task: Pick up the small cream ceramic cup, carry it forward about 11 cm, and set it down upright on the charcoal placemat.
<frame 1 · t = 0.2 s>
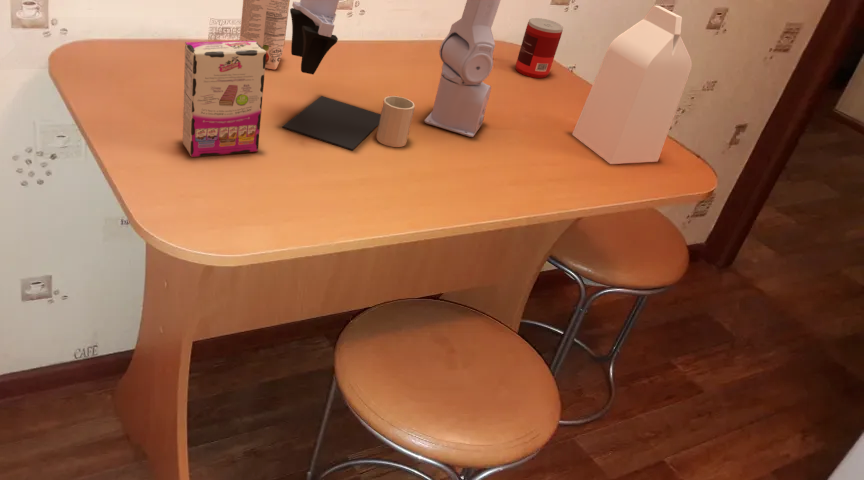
hand: (302, 63, 130), 11 cm above the table, tool pointing down, fingers open, 7 cm apart
placemat: (336, 122, 139), on the table
candy bar box: (219, 149, 124), on the table
canned food: (531, 72, 179), on the table
juice carton: (260, 62, 157), on the table
milk: (613, 148, 151), on the table
cream cup: (391, 140, 137), on the table
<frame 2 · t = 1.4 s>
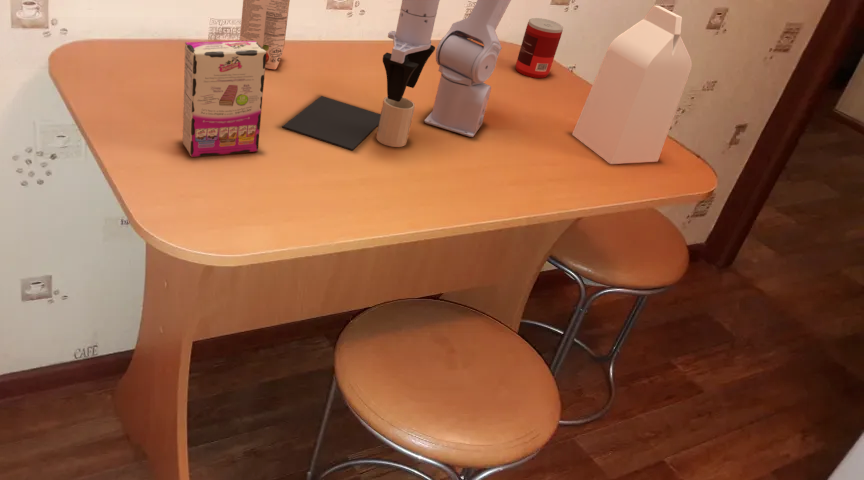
hand: (401, 92, 132), 9 cm above the table, tool pointing down, fingers open, 7 cm apart
nothing on the table moved.
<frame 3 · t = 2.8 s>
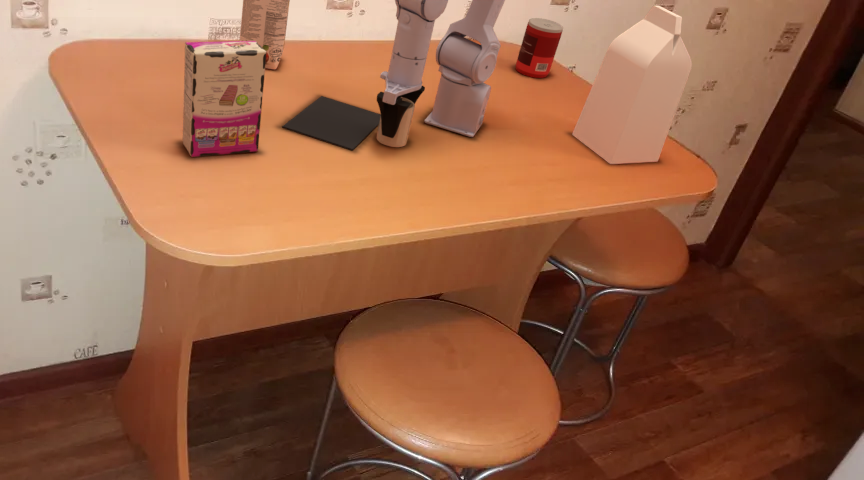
hand: (393, 130, 136), 2 cm above the table, tool pointing down, fingers closed on cream cup, 5 cm apart
cream cup: (391, 140, 137), on the table, touching gripper
everything else where it was.
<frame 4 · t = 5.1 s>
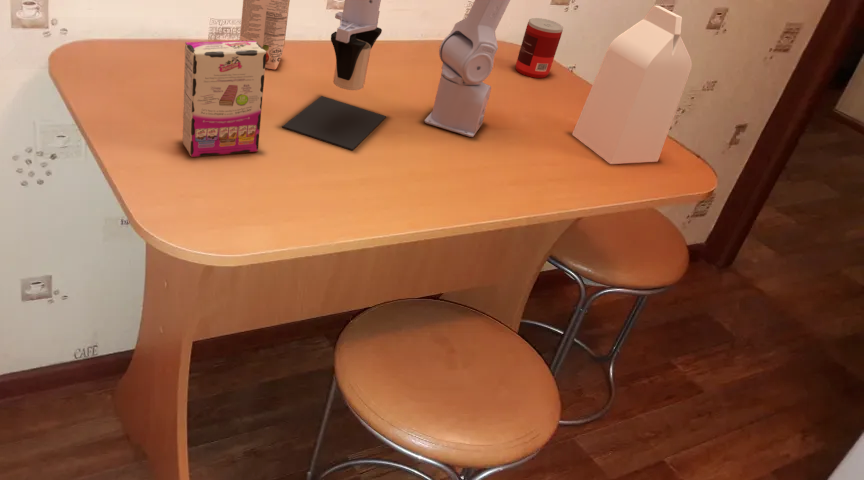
hand: (350, 73, 134), 9 cm above the table, tool pointing down, fingers closed on cream cup, 5 cm apart
cream cup: (348, 84, 135), point 7 cm above the table, touching gripper
everything else where it was.
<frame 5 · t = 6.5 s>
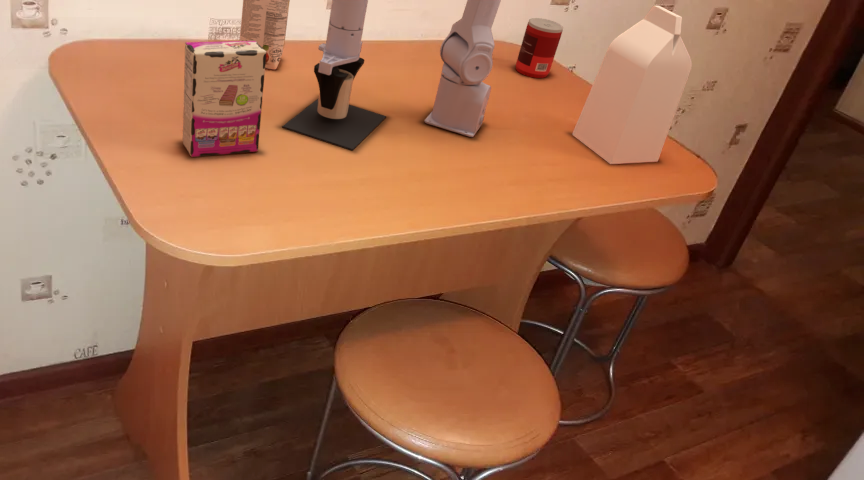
hand: (333, 102, 138), 3 cm above the table, tool pointing down, fingers closed on cream cup, 5 cm apart
cream cup: (332, 112, 139), point 2 cm above the table, touching gripper
everything else where it was.
when the fingers open (2 cm above the table, at t = 7.5 s): cream cup stays where it is, resting on placemat.
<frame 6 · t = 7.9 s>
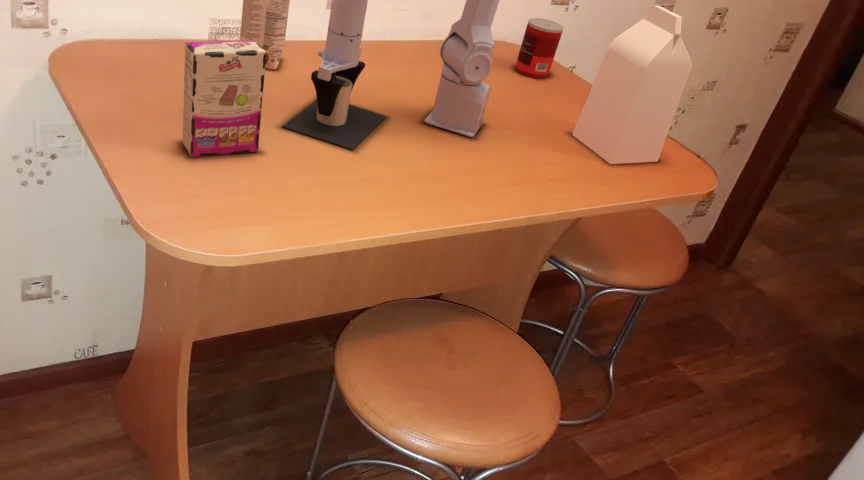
hand: (333, 107, 138), 2 cm above the table, tool pointing down, fingers open, 7 cm apart
cream cup: (330, 119, 139), resting on placemat
everything else where it was.
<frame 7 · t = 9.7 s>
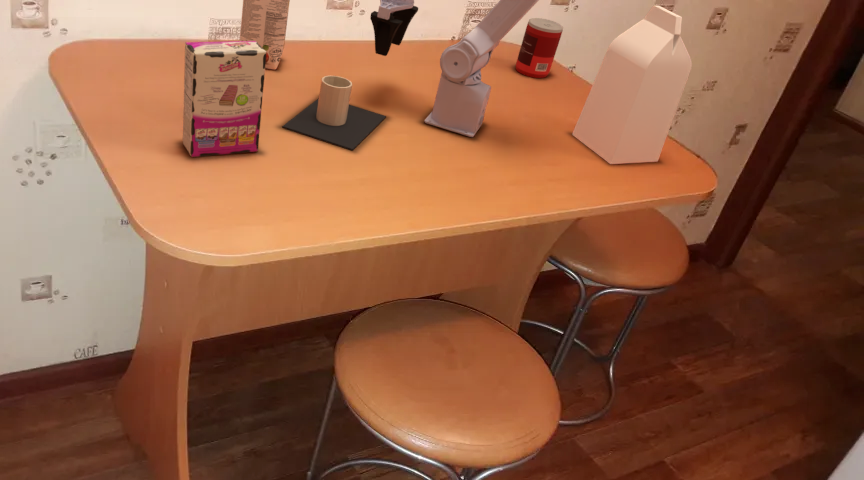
hand: (387, 48, 147), 9 cm above the table, tool pointing down, fingers open, 7 cm apart
nothing on the table moved.
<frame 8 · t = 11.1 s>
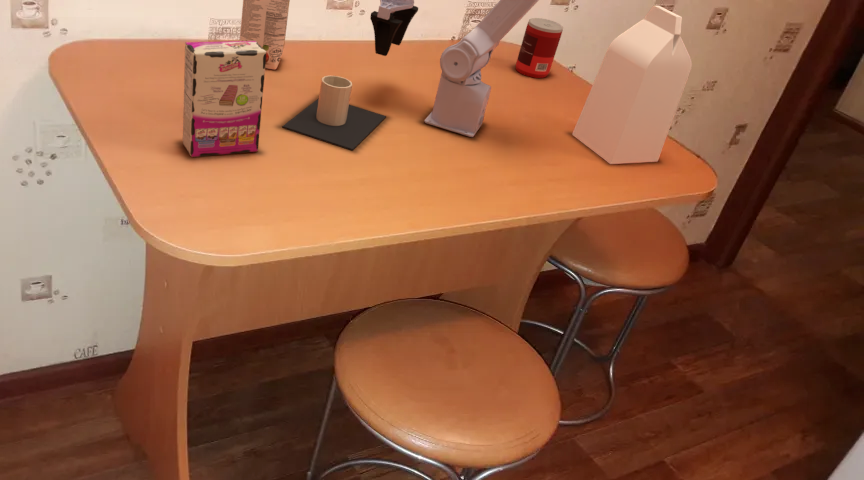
hand: (387, 48, 147), 9 cm above the table, tool pointing down, fingers open, 7 cm apart
nothing on the table moved.
at the end: cream cup 0.3 cm from the target spot, resting on placemat; cream cup moved 11.5 cm from its start; cream cup tilted 0° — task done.
